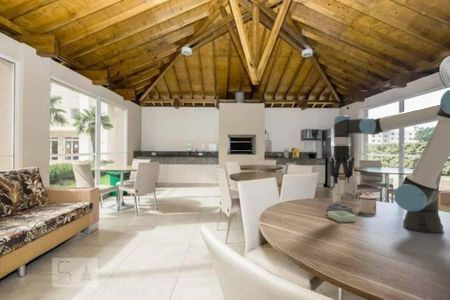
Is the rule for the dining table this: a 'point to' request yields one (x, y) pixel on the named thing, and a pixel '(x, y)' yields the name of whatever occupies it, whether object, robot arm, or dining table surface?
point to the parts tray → (341, 216)
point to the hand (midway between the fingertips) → (341, 189)
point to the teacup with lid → (368, 203)
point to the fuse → (335, 197)
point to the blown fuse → (341, 184)
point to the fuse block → (340, 208)
